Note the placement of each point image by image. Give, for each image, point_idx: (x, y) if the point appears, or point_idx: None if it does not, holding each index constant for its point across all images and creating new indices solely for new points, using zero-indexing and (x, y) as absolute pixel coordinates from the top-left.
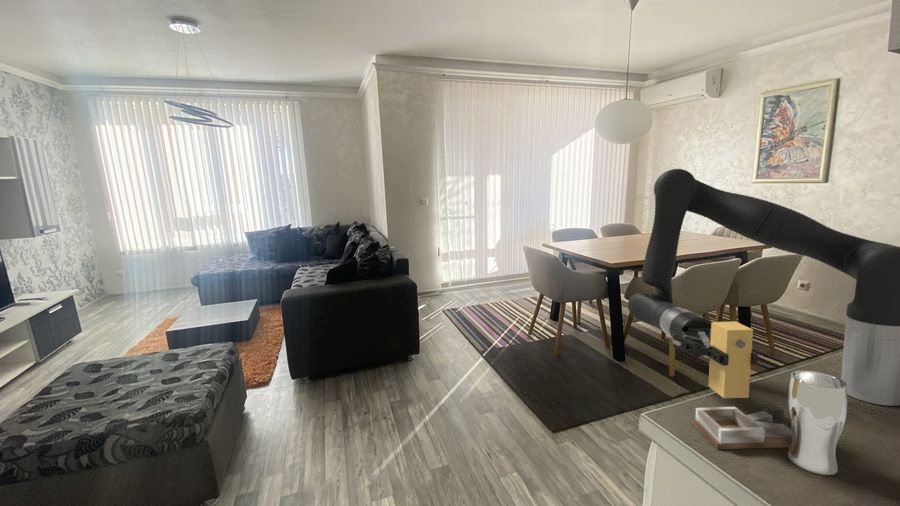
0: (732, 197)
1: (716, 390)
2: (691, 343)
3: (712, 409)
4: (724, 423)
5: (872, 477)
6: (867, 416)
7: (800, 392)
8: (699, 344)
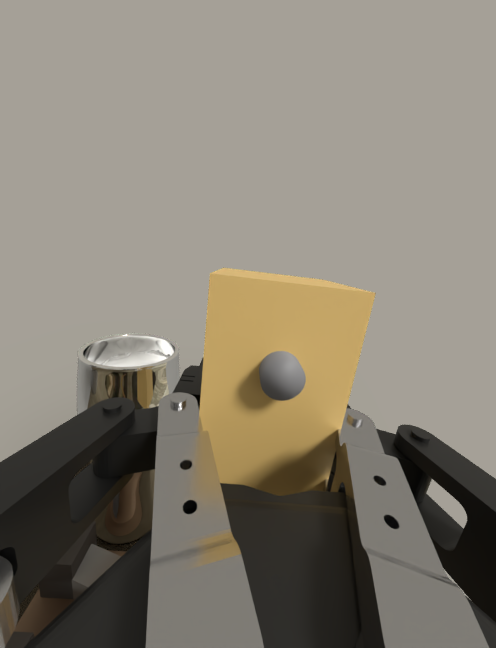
0: None
1: None
2: (453, 449)
3: None
4: None
5: (87, 465)
6: None
7: (179, 371)
8: (404, 430)
